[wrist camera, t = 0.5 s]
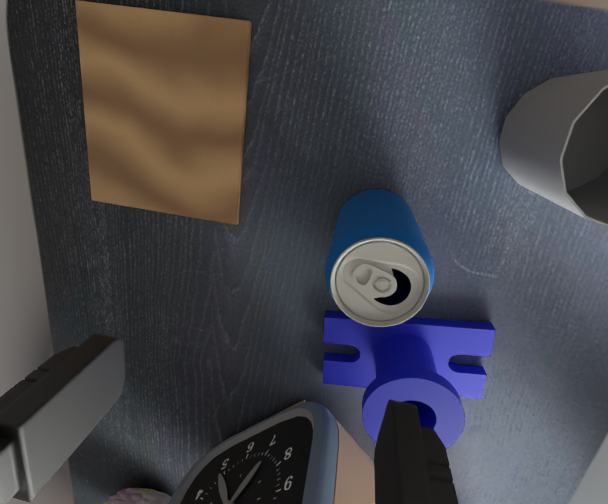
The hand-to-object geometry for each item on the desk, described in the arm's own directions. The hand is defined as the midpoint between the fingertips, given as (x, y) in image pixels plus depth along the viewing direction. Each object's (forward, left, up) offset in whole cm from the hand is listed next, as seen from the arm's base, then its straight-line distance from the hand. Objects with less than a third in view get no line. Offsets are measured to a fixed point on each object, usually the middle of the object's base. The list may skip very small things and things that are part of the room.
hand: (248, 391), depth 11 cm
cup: (-8, +16, -24) cm, 30 cm away
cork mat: (-5, -15, -24) cm, 28 cm away
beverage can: (+1, +4, -24) cm, 24 cm away
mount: (+13, +9, -24) cm, 29 cm away
